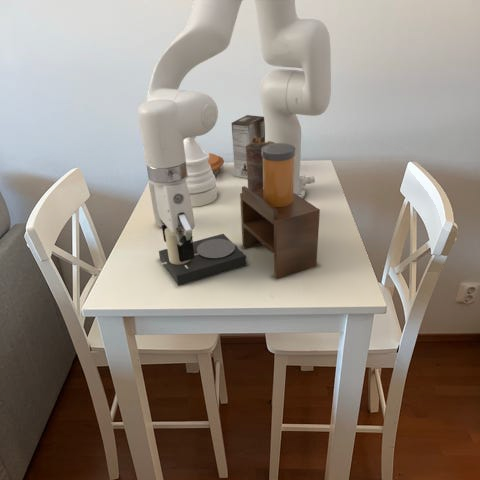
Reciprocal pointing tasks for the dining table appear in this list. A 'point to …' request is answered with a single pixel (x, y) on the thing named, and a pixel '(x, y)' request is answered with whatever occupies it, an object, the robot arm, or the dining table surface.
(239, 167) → the coffee box
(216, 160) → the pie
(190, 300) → the dining table surface
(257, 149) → the candle
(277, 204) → the jar
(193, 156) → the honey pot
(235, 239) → the dining table surface
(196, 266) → the hot plate
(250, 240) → the shelf
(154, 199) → the beverage can
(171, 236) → the knob
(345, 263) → the dining table surface
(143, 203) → the dining table surface
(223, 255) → the pale grey disc
